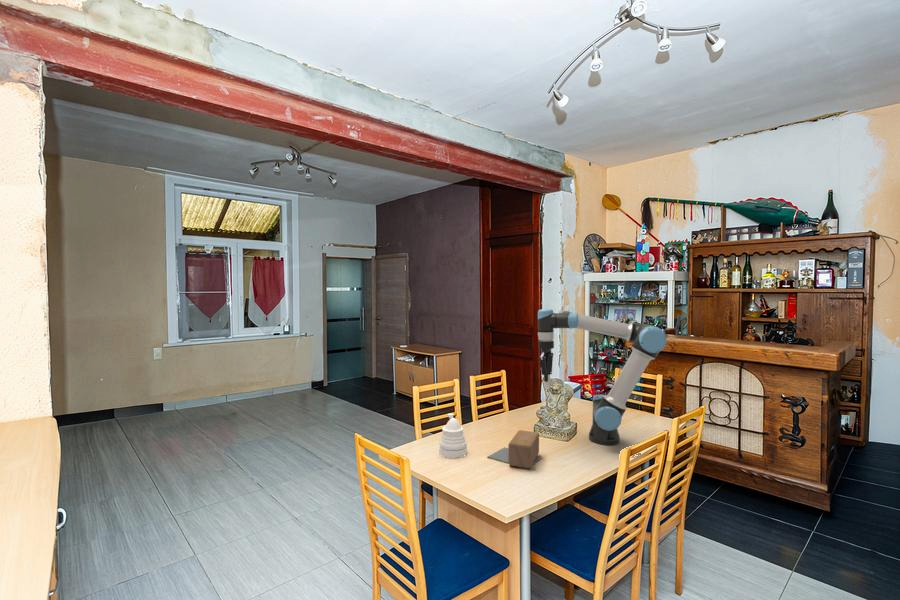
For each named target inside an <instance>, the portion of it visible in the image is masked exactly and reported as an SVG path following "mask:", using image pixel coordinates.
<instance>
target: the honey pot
mask: <svg viewBox="0 0 900 600" xmlns="http://www.w3.org/2000/svg"><path fill="white" fill-rule="evenodd" d="M447 416H448V418H449V420H448V421H447V423H446V424H445V425H444V426H443V427H442V428H441V431H442V434H441V437H440V441H439V455H440V454H441V455H442V457H443V456H444V458H446V457H449V458H448V459H458V458H457V457H460V458H463V457H465V456H466V455H468V450H467V448H468V442H467V440H466V436H465V433H464V432H463V431H464V428H463V426H461V424H460V422H459V420H458V419H457V418H455V417H454V413H447ZM441 455H440V456H441ZM464 455H465V456H464ZM462 456H463V457H462Z"/></svg>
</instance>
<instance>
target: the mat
mask: <svg viewBox="0 0 900 600" xmlns="http://www.w3.org/2000/svg"><path fill="white" fill-rule="evenodd" d="M487 459H490V460H494V461H496V462H497V461H498V462H500V463H504V464H508V465H509V463H508V447H502V448H500V449H499V450H497V451H495V452H493V453H492V454H489V455H488V456H487ZM540 459H541V460H542V459H543V456H540V455H537V456H536V458H535V460H534V462H533V464H532V466H534V464H536V463H537V461H538V462H539V461H540ZM520 468H522V469H525V470H527V469H528V468H525V467H520Z"/></svg>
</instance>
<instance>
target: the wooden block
mask: <svg viewBox="0 0 900 600" xmlns="http://www.w3.org/2000/svg"><path fill="white" fill-rule="evenodd" d="M507 448H508V463H509V464H508V465H509V466H512V467H519V468H521V467H525V468H527V469H531V467H532V466H533V465H534V464H533V462H534V460H535V458H536V456H539V453H540V433H539V432H537V431H528V430H521V429H520V430H518V431H517V432H516V433H515V435H514V436H513V437H512V439H511V440H510V441H509V443H508V446H507ZM532 464H533V465H532ZM525 468H524V469H525Z"/></svg>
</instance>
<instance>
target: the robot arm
mask: <svg viewBox="0 0 900 600" xmlns="http://www.w3.org/2000/svg"><path fill="white" fill-rule="evenodd" d="M554 329H579V330H583V331H587V332H591V333H592V332H593V333H597V334H601V335H604V336H605V335H606V336H611V337H614V338H620V339H624V340H626V341H627V342H630V343H632V345H631V347H630V348H631V350H632V352H630V353H631V354H630V356H629V357H628V358H627V360H626V362H625V364H624V366H623V368H622V370H620V373H619V375H618V376H617V378H616V380H615V382H614V384H613V385H612V387H611V389H610V391H609V392H608V394H594V395H593V397H592V424H591V427H590V430H589V432H588V439H589V441H590V442H592V443H595V444H599V445H604V446H615V445H618V444H620V442H621V436H620V432H619V430H618V428H619V427H620V425H621V423H622V419H623V418H622V417H623V416H624V414H625V412H626V411H627V406H626V403H627V401H628V400H629V398H630V397H631V394H632V392H633V391H634V389H636V388H635V387H636V386H637V385H638V383H639V381H640V379H641V377H642V375H643V374H644V372H645V370H646V368H647V367H648V365H649V363H650V362H651V361H652V360H656V358H657V356H659V353H661V351H663V350H664V349H665V347H666V346H667V343H668V340H667V335H666V333H665V332H664V331H663V329H661V328H660V327H658V326H655V325H653V324H646V323H636V322H629V323H625V322H619V321H615V320H610V319H605V318H599V317H596V316H589V315H586V314H580V313H577V312H571V311H567V310H564V311H562V312H554V310H553V309H552V308H551V309H550V308H545V309H544V308H543V309H541V308H540V309H538V311H537V337H538V338H537V339H538V349H540V350H541V352H540V354H541V355H539V356H538V359H539V364H540V370H541V372H540V373H541V375H542V376H543V389H550V388H551V375H553V361H554V352H552V350H553V349H554V348H555V341H554V340H555V335H554Z"/></svg>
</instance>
